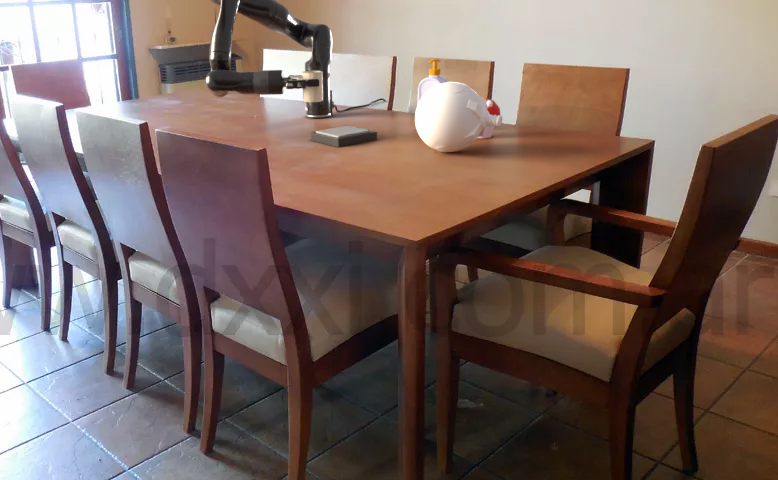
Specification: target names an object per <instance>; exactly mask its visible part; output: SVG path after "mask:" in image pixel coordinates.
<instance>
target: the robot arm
mask: <svg viewBox="0 0 778 480" xmlns="http://www.w3.org/2000/svg"><path fill="white" fill-rule="evenodd" d="M210 1H211V2H212V3H213V4H214V5H216V6H218V7H220V8H219V10H218V11H219V12H218V15H217V18H216V21H215V24H214V26H213V29H212V32H211V35H210V39H209V40H210V41H209V51H208V59H209V64H210V71H209V72H208V73H207V74H206V76H205V79H204V80H205V81H204V82H205V86H206V88H207V89H208V90H209V91H210V93H211V94H212V95H213V96H214V97H217V98H224V97H226V96H227V95H228V94H229V93H230V92H235V93H238V94H239V95H261V96H267V95H268V96H269V95H273V96H274V95H283V94H284V92H285V89H286V90H294V89H295V90H300V89H301V90H303V89H304V88H306V87H307V86H308V87H318V86H319V79H308V81H307V79H302V74H295V75H294V74H289V75H288V76H287V77H285V76H284V71H283V70H282V69H266V70H263V69H262V70H255V71H237V70H231V60H232V49H233V48H232V47H233V36H234V29H235V23H236V21H237V15H238V14H240V15H242V16H243V17H245V18H247V19H249V20H252V21H254V22H256V23H258V25H259V24H260V25H261V26H263V27H264V28H266V29H269V30H270V31H273V32H275V33H278V34H280V35H282V36H285V37H287V38H289V39H290V40H292V41H293V42H295V43H296V44H298V45H300V46H301V47H302V48H304V49H306V50H309V51H311V57H310V58H309V59H308V60H307V61H305V62H304V71H323V101H320V102H305V107H304V109H305V111H306V113H305V116H306V118H310V119H326V118H329V117H332V116H334V115H333V109H335V112H337V113H342V112H347V111H350V110H353V109H360V108H366V107H369V106H371V105H372V104H374V103H375V104H376V103H377V102H380V101H383V102H384V103H385V102H386V103H387V100H386V99H385V98H383V97H382V98H381V97H380V98H378V99H375V100H373V101H371V102H369V103H367V104H363V105H355V106H350V107H347V108H345V109H342V110H338V107H337V105H335V101H333V90H332V89H331V77H330V76H331V74H330V73H331V72H330V71H331V70H330V69H331V63H332V58H333V35H332V30H331V29H330V26H328V25H327V24H324V23H311V22H306V21H303V20H302V19H299V18H297V17H295V16H294V15H293V14H292V13H291V11H290V10H289V8H288V7H287V6H285V5H284V4H282V3H280V2H279V1H277V0H210Z"/></svg>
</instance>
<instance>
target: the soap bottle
mask: <svg viewBox="0 0 778 480" xmlns="http://www.w3.org/2000/svg"><path fill="white" fill-rule="evenodd" d="M439 62H440V63H441V60H440V59H438V58H431V59H430V60H428V64H432V67H430V68H429V69H428V71H429V72H428V73H429V75H428V76H427V77H425V78H423V79H421V80H420V82H419V83H418V85H417V97H416V98H417V102H416V103H417V104H416V107H417V106H418V103H419V101H420V100H421V98H422V97H423V95H424V94H425V93H426V92H427V91H428V90H429V89H431V88H432V87H435V86H437V85H438V84H441V83H445V82H450V81H449V79H448V78H446V76H444V75H441V68H440V67H438V63H439Z"/></svg>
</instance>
